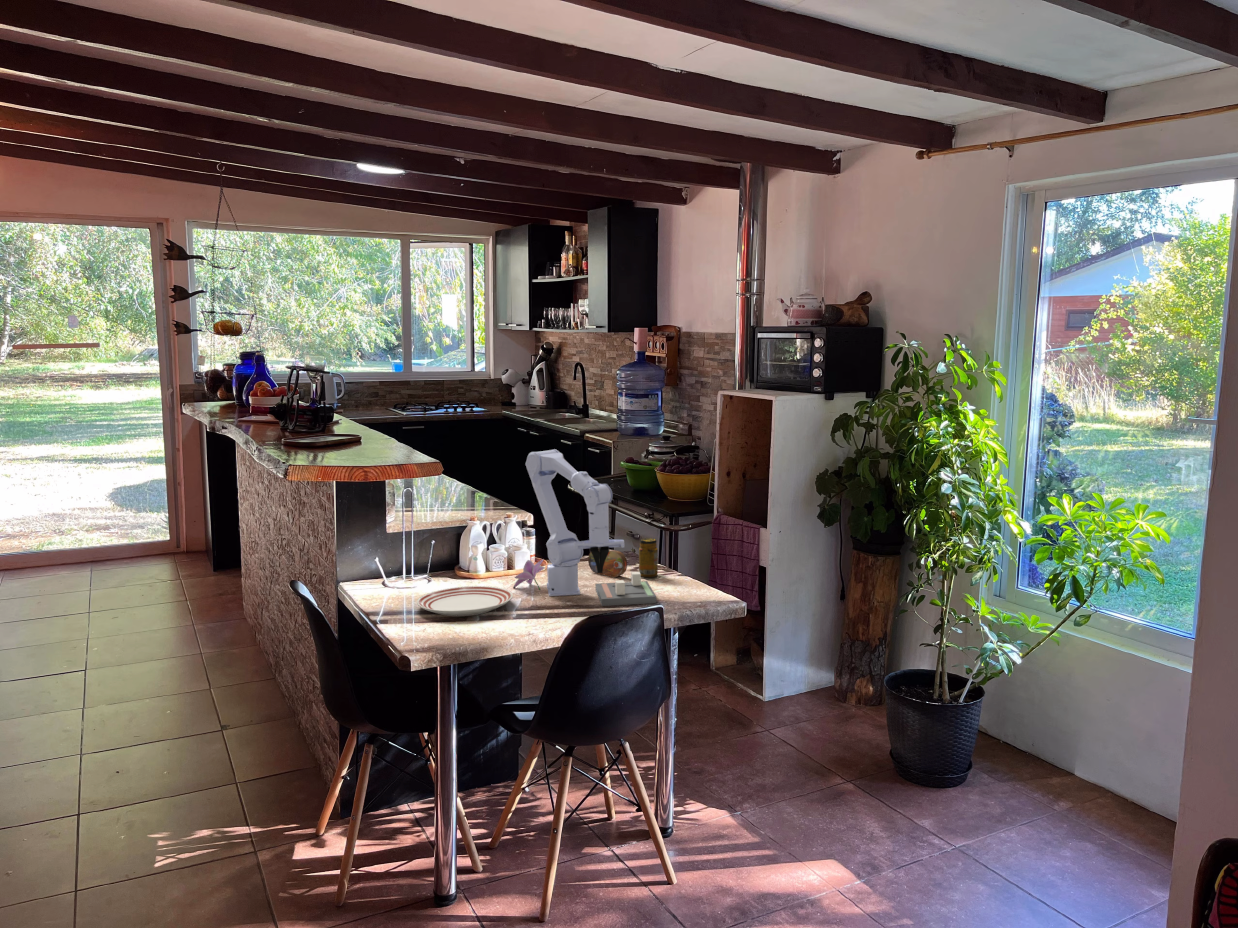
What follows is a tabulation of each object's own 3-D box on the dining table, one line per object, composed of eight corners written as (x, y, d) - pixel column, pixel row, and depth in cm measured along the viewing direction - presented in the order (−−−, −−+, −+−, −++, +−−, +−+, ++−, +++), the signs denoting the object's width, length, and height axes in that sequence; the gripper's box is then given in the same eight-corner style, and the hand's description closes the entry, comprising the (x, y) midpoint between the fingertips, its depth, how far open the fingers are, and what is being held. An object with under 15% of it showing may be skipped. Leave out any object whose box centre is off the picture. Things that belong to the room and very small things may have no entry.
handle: (632, 585, 279) (632, 574, 278) (631, 583, 282) (631, 571, 281) (640, 585, 279) (640, 574, 279) (639, 582, 282) (639, 571, 282)
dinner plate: (400, 606, 269) (399, 595, 269) (481, 589, 287) (480, 578, 286) (447, 628, 248) (447, 616, 248) (531, 608, 266) (531, 597, 265)
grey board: (601, 605, 266) (601, 598, 266) (595, 589, 283) (595, 583, 283) (656, 602, 269) (656, 595, 268) (647, 587, 285) (647, 580, 285)
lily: (551, 585, 293) (538, 558, 294) (559, 580, 282) (545, 551, 283) (517, 601, 289) (504, 574, 290) (523, 596, 278) (510, 568, 279)
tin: (587, 571, 305) (587, 547, 304) (594, 570, 308) (593, 545, 306) (622, 579, 296) (622, 553, 294) (628, 577, 298) (628, 551, 297)
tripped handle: (616, 594, 269) (616, 583, 269) (615, 592, 272) (615, 580, 272) (624, 594, 270) (624, 582, 269) (623, 591, 272) (623, 580, 272)
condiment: (649, 572, 304) (649, 536, 302) (667, 577, 297) (666, 540, 296) (632, 575, 299) (632, 539, 298) (650, 581, 293) (649, 544, 291)
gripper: (575, 530, 262) (576, 576, 264) (625, 528, 264) (626, 574, 266) (573, 525, 269) (574, 570, 271) (622, 523, 271) (623, 568, 273)
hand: (599, 572), depth 269 cm, fingers closed
